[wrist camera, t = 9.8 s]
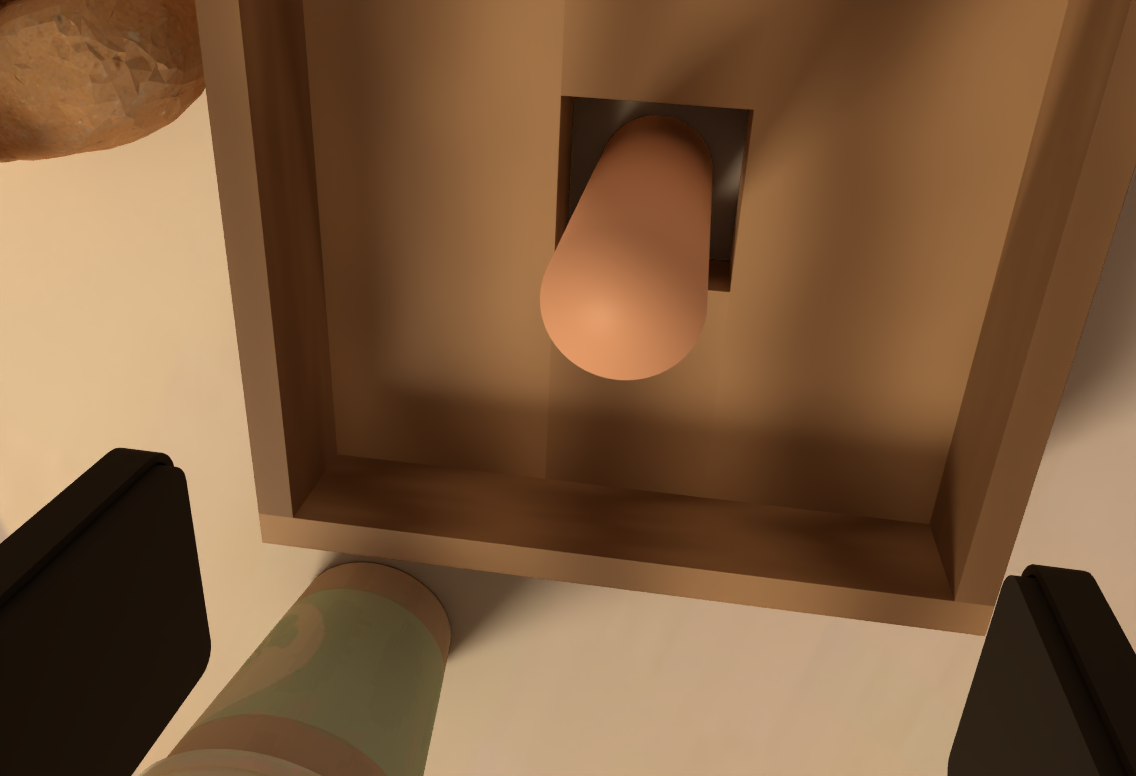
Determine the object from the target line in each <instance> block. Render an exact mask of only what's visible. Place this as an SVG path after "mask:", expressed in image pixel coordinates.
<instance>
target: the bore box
mask: <svg viewBox="0 0 1136 776" xmlns="http://www.w3.org/2000/svg"><path fill="white" fill-rule="evenodd" d="M195 6H196V14H197V22H198V30H199V38H200V46H201V54H202V62H203V70H204V78H205V86H206V94H207V102H208V110H209V118H210V126H211V134H212V142H213V150H214V158H215V166H216V174H217V182H218V190H219V198H220V206H221V214H222V222H223V230H224V238H225V246H226V254H227V262H228V270H229V278H230V286H231V294H232V302H233V310H234V318H235V326H236V334H237V342H238V350H239V358H240V366H241V374H242V382H243V390H244V398H245V406H246V414H247V422H248V430H249V438H250V446H251V454H252V462H253V470H254V478H255V486H256V494H257V502H258V510H259V518H260V526H261V534H262V542H263V543H270V544H278V545H286V546H293V547H301V548H309V549H317V550H324V551H332V552H340V553H347V554H355V555H363V556H371V557H378V558H386V559H394V560H401V561H409V562H417V563H425V564H432V565H440V566H448V567H456V568H463V569H471V570H479V571H486V572H494V573H502V574H510V575H517V576H525V577H533V578H540V579H548V580H556V581H564V582H571V583H579V584H587V585H595V586H602V587H610V588H618V589H625V590H633V591H641V592H649V593H656V594H664V595H672V596H679V597H687V598H695V599H703V600H710V601H718V602H726V603H734V604H741V605H749V606H757V607H764V608H772V609H780V610H788V611H795V612H803V613H811V614H818V615H826V616H834V617H842V618H849V619H857V620H865V621H873V622H880V623H888V624H896V625H903V626H911V627H919V628H927V629H934V630H942V631H950V632H957V633H965V634H973V635H981V636H985V634H986V631H987V628H988V625H989V622H990V619H991V616H992V613H993V609H994V606H995V603H996V600H997V597H998V594H999V591H1000V587H1001V584H1002V581H1003V578H1004V575H1005V572H1006V569H1007V566H1008V562H1009V559H1010V556H1011V553H1012V550H1013V547H1014V544H1015V541H1016V537H1017V534H1018V531H1019V528H1020V525H1021V522H1022V519H1023V516H1024V512H1025V509H1026V506H1027V503H1028V500H1029V497H1030V494H1031V491H1032V487H1033V484H1034V481H1035V478H1036V475H1037V472H1038V469H1039V465H1040V462H1041V459H1042V456H1043V453H1044V450H1045V447H1046V444H1047V440H1048V437H1049V434H1050V431H1051V428H1052V425H1053V422H1054V419H1055V415H1056V412H1057V409H1058V406H1059V403H1060V400H1061V397H1062V394H1063V390H1064V387H1065V384H1066V381H1067V378H1068V375H1069V372H1070V369H1071V365H1072V362H1073V359H1074V356H1075V353H1076V350H1077V347H1078V343H1079V340H1080V337H1081V334H1082V331H1083V328H1084V325H1085V322H1086V318H1087V315H1088V312H1089V309H1090V306H1091V303H1092V300H1093V297H1094V293H1095V290H1096V287H1097V284H1098V281H1099V278H1100V275H1101V272H1102V268H1103V265H1104V262H1105V259H1106V256H1107V253H1108V250H1109V247H1110V243H1111V240H1112V237H1113V234H1114V231H1115V228H1116V225H1117V221H1118V218H1119V215H1120V212H1121V209H1122V206H1123V203H1124V200H1125V196H1126V193H1127V190H1128V187H1129V184H1130V181H1131V178H1132V175H1133V171H1134V168H1135V165H1136V0H195ZM574 96H575V97H588V98H602V99H615V100H629V101H642V102H656V103H669V104H683V105H696V106H710V107H723V108H737V109H749V116H748V123H747V131H746V139H745V147H744V154H743V162H742V170H741V177H740V185H739V193H738V201H737V208H736V216H735V224H734V231H733V239H732V247H731V255H730V261H721V260H710V259H709V274H708V298H707V315H706V320H705V324H704V327H703V330H702V333H701V335H700V337H699V339H698V341H697V343H696V344H695V345H694V347H693V348H692V350H691V351H690V352H689V353H688V354H687V355H686V356H685V357H684V358H683V359H682V360H681V361H680V362H679V363H677V364H676V365H675V366H673V367H671V368H670V369H668V370H666V371H664V372H662V373H660V374H658V375H655V376H651V377H648V378H643V379H638V380H615V379H609V378H604V377H601V376H597V375H595V374H592V373H590V372H587V371H585V370H584V369H582V368H580V367H578V366H577V365H575V364H574V363H573V362H571V361H570V360H569V359H568V358H567V357H566V356H564V355H563V354H562V353H561V352H560V350H559V349H558V348H557V347H556V346H555V344H554V343H553V341H552V339H551V338H550V336H549V334H548V332H547V330H546V328H545V325H544V322H543V319H542V315H541V309H540V291H541V285H542V280H543V277H544V274H545V272H546V269H547V267H548V265H549V263H550V261H551V259H552V257H553V254H554V252H555V250H556V248H557V246H558V244H559V242H560V240H561V238H562V236H563V234H564V232H565V229H566V227H567V225H568V211H569V190H570V168H571V147H572V126H573V104H574Z"/></svg>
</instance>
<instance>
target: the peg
mask: <svg viewBox="0 0 1136 776" xmlns="http://www.w3.org/2000/svg"><path fill="white" fill-rule="evenodd" d="M712 178H713V166H712V160H711V155H710V153H709V150H708V148H707V146H706V144H705V142H704V141H703V139H702V138H701V136H700V135H699V134H698V133H697V132H696V131H695V130H694V129H693V128H691V127H690V126H689V125H687V124H686V123H684V122H682V121H680V120H678V119H675V118H672V117H668V116H661V115H652V116H645V117H641V118H637V119H635V120H633V121H630V122H629V123H627V124H625V125H624V126H622V127H621V128H620V129H619V130H618V131H617V132H616V133H615V134H614V135H613V136H612V137H611V138H610V140H609V141H608V143H607V145H606V146H605V148H604V150H603V153H602V155H601V157H600V159H599V161H598V163H597V165H596V167H595V169H594V171H593V173H592V175H591V177H590V180H589V182H588V184H587V186H586V188H585V190H584V192H583V194H582V196H581V198H580V200H579V202H578V205H577V207H576V209H575V211H574V213H573V215H572V217H571V219H570V221H569V223H568V225H567V227H566V229H565V232H564V234H563V236H562V238H561V240H560V242H559V244H558V246H557V248H556V250H555V252H554V254H553V257H552V259H551V261H550V263H549V265H548V267H547V269H546V272H545V274H544V277H543V280H542V285H541V291H540V309H541V315H542V319H543V322H544V325H545V328H546V330H547V332H548V334H549V336H550V338H551V339H552V341H553V343H554V344H555V346H556V347H557V348H558V349H559V350H560V352H561V353H562V354H563V355H564V356H566V357H567V358H568V359H569V360H570V361H571V362H573V363H574V364H575V365H577V366H578V367H580V368H582V369H584V370H585V371H587V372H590V373H592V374H595V375H597V376H601V377H604V378H609V379H615V380H638V379H643V378H648V377H651V376H655V375H658V374H660V373H662V372H664V371H666V370H668V369H670V368H671V367H673V366H675V365H676V364H677V363H679V362H680V361H681V360H682V359H683V358H684V357H685V356H686V355H687V354H688V353H689V352H690V351H691V350H692V348H693V347H694V345H695V344H696V343H697V341H698V339H699V337H700V335H701V333H702V330H703V327H704V324H705V320H706V315H707V298H708V274H709V250H710V226H711V202H712Z"/></svg>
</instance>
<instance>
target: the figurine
mask: <svg viewBox="0 0 1136 776" xmlns="http://www.w3.org/2000/svg"><path fill="white" fill-rule="evenodd" d="M205 87H206V86H205V78H204V70H203V62H202V54H201V46H200V38H199V30H198V22H197V14H196V6H195V0H0V162H11V161H16V160H41V159H49V158H56V157H62V156H67V155H72V154H76V153H83V152H91V151H98V150H106V149H111V148H114V147H117V146H121V145H124V144H128V143H131V142H134V141H136V140H138V139H141V138H143V137H145V136H148V135H149V134H151V133H153V132H155V131H157V130H159V129H160V128H162V127H164V126H166V125H168V124H170V123H171V122H173V121H174V120H176V119H177V118H178V117H179V116H180V115H181V114H182V113H183V112H184V111H185V110H186V109H187V108H188V107H189V106H190V105H191V104H192V103H193V102H194V101H195V100H196V99H197V98H198V97H199V96H200V95H201V94H202V92H203V90H204V89H205Z"/></svg>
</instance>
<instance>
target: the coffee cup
mask: <svg viewBox="0 0 1136 776" xmlns="http://www.w3.org/2000/svg"><path fill="white" fill-rule="evenodd" d="M450 641H451V630H450V624H449V620H448V617H447V615H446V613H445V611H444V609H443V607H442V605H441V604H440V602H439V601H438V600H437V598H436V597H435V596H434V595H433V594H432V592H431V591H430V590H428V589H427V588H426V587H425V586H424V585H423V584H422V583H420V582H419V581H417V580H416V579H415V578H413V577H411V576H410V575H408V574H406V573H404V572H402V571H399V570H397V569H394V568H392V567H388V566H385V565H380V564H376V563H365V562H357V563H347V564H342V565H338V566H335V567H333V568H330V569H329V570H327V571H325V572H323V573H322V574H320V575H319V576H318V577H317V578H316V579H315V580H314V581H313V582H312V583H311V584H310V586H309V587H308V588H307V589H306V590H305V592H304V593H303V594H302V595H301V596H300V597H299V599H298V600H297V601H296V602H295V603H294V605H293V606H292V607H291V608H290V609H289V610H288V612H287V613H286V614H285V615H284V616H283V618H282V619H281V620H280V621H279V622H278V624H277V625H276V626H275V627H274V628H273V630H272V631H271V632H270V633H269V634H268V636H267V637H266V638H265V639H264V640H263V642H262V643H261V644H260V645H259V646H258V648H257V649H256V650H255V651H254V652H253V654H252V655H251V656H250V657H249V658H248V660H247V661H246V662H245V663H244V665H243V666H242V667H241V668H240V669H239V671H238V672H237V673H236V674H235V675H234V677H233V678H232V679H231V680H230V681H229V683H228V684H227V685H226V686H225V687H224V689H223V690H222V691H221V692H220V693H219V695H218V696H217V697H216V698H215V699H214V701H213V702H212V703H211V704H210V705H209V707H208V708H207V709H206V710H205V711H204V713H203V714H202V715H201V716H200V718H199V719H198V720H197V721H196V722H195V724H194V725H193V726H192V727H191V728H190V730H189V731H188V732H187V733H186V734H185V736H184V737H183V738H182V739H181V740H180V742H179V743H178V744H177V745H176V747H175V748H174V749H173V750H172V751H171V753H170V754H169V755H168V756H167V758H164V759H162V760H160V761H158V762H156V763H154V764H153V765H151V766H150V767H148V768H147V769H145V770H144V771H143V772H142V773H141V774H140V775H139V776H423V775H424V770H425V765H426V760H427V755H428V750H429V745H430V741H431V736H432V731H433V726H434V721H435V716H436V712H437V707H438V702H439V697H440V692H441V687H442V682H443V677H444V672H445V667H446V662H447V657H448V652H449V647H450Z"/></svg>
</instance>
